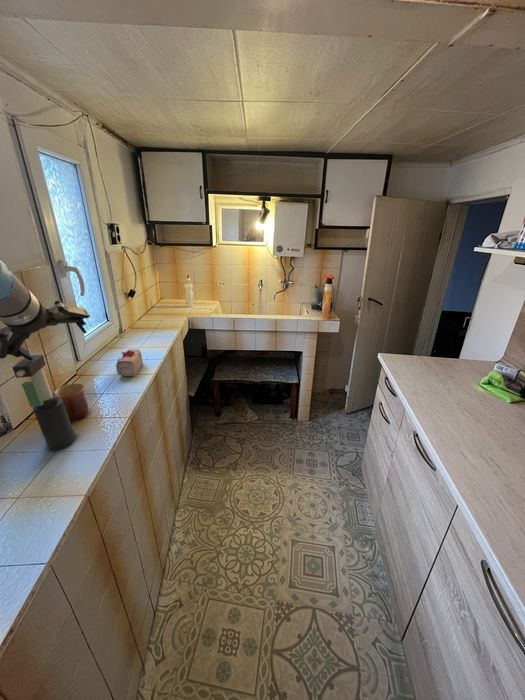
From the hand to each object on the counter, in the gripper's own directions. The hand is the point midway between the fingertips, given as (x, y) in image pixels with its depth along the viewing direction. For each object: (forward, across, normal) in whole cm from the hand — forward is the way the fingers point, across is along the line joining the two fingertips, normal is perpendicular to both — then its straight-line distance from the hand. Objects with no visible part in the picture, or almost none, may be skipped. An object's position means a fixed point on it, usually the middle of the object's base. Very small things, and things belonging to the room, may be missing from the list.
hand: (57, 342), depth 76 cm
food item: (+52, +12, -4) cm, 53 cm away
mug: (+31, -11, -12) cm, 35 cm away
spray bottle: (+18, -17, -21) cm, 33 cm away
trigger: (+6, -13, -11) cm, 18 cm away
